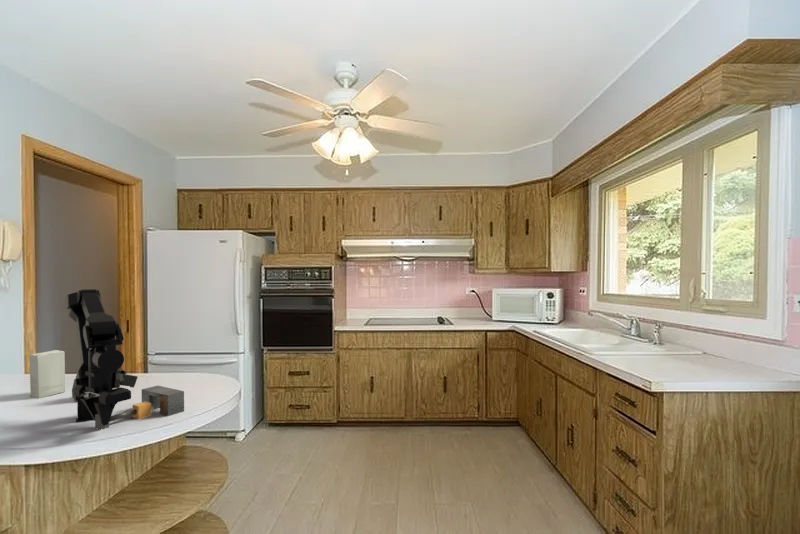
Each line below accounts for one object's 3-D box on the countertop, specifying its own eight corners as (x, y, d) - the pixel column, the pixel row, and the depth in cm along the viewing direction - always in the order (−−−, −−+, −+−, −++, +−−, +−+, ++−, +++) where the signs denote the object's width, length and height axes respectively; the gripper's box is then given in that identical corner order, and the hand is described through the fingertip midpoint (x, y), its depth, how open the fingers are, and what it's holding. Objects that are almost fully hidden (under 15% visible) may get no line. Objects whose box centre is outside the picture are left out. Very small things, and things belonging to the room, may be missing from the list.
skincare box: (57, 390, 153) (57, 349, 153) (66, 392, 150) (66, 350, 150) (28, 396, 145) (28, 353, 145) (37, 398, 142) (37, 354, 142)
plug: (100, 430, 112) (100, 416, 112) (94, 428, 114) (94, 414, 114) (154, 414, 125) (154, 402, 125) (148, 412, 126) (148, 400, 126)
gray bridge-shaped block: (168, 416, 123) (167, 395, 123) (141, 408, 130) (141, 389, 130) (184, 411, 127) (184, 391, 127) (157, 404, 134) (157, 385, 134)
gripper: (151, 363, 117) (151, 420, 116) (116, 357, 126) (116, 410, 126) (106, 372, 107) (106, 434, 107) (72, 365, 116) (72, 421, 116)
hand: (102, 423), depth 114 cm, fingers open, 4 cm apart
